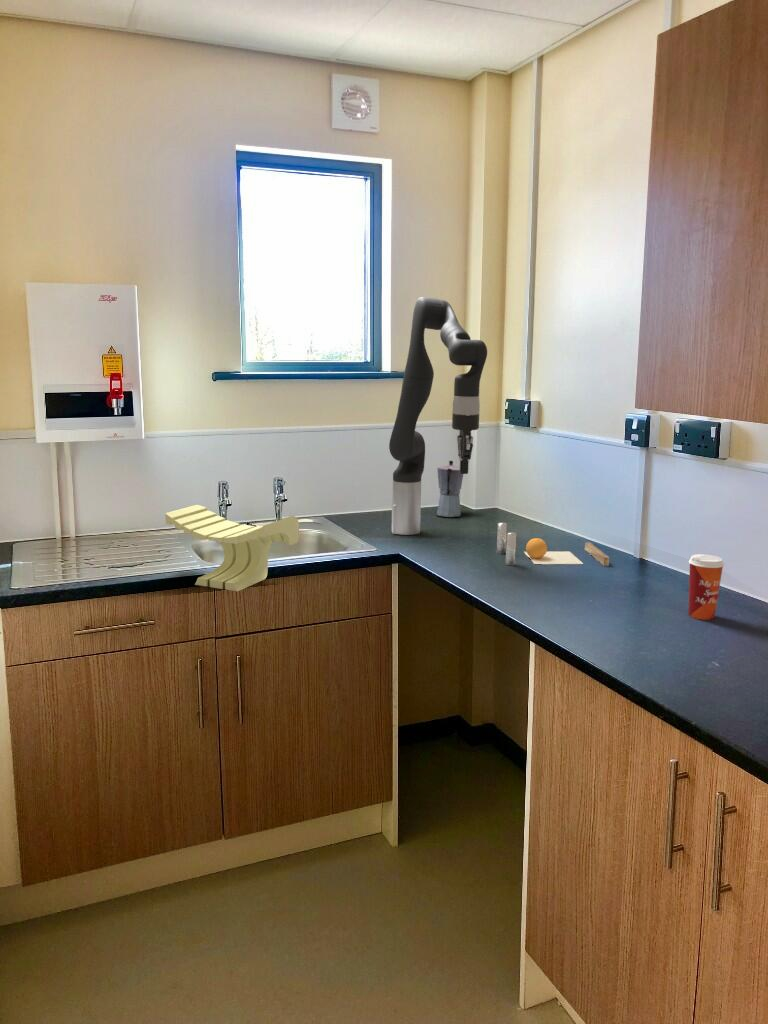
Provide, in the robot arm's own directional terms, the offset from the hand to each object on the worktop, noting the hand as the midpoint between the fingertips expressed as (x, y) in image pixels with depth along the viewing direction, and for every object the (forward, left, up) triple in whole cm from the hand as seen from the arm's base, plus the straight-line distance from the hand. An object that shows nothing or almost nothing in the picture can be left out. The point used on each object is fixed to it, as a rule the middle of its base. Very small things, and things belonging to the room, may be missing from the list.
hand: (463, 473), depth 237 cm
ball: (+22, 0, -22) cm, 31 cm away
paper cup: (+48, -53, -25) cm, 76 cm away
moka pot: (+5, +60, -25) cm, 65 cm away
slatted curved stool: (-63, -21, -25) cm, 71 cm away
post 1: (+13, +7, -25) cm, 29 cm away
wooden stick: (+40, 0, -25) cm, 47 cm away
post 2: (+13, -7, -25) cm, 29 cm away
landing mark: (+27, 0, -25) cm, 37 cm away
